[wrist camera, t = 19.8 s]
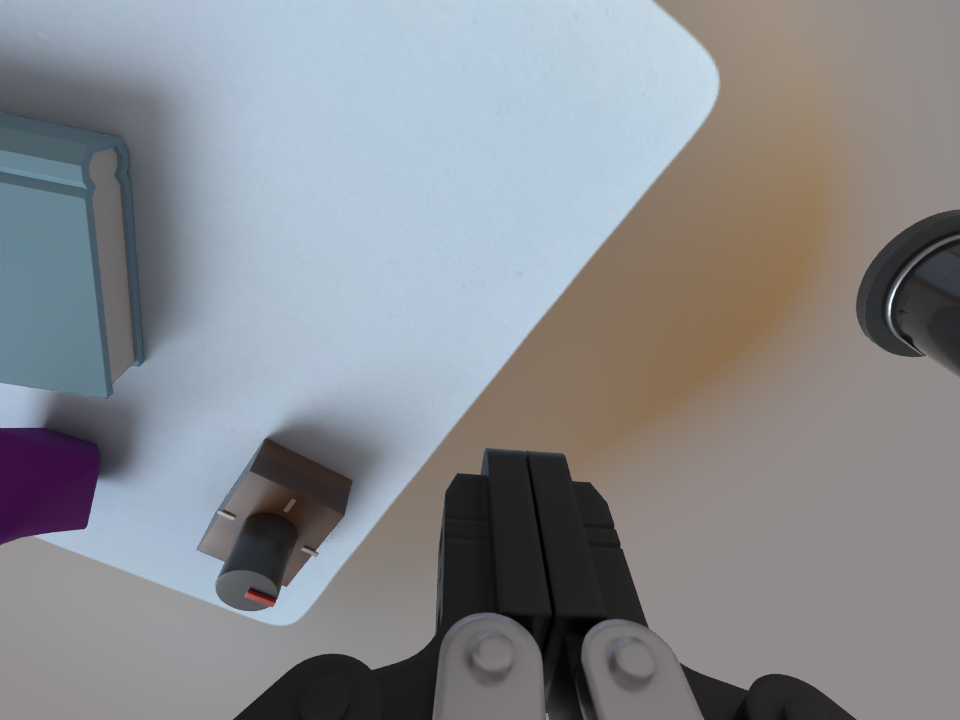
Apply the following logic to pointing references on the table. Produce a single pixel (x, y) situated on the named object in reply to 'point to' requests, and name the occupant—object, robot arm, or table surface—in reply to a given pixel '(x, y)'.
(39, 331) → the book
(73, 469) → the perfume bottle
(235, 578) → the dial
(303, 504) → the dial panel
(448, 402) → the table surface
